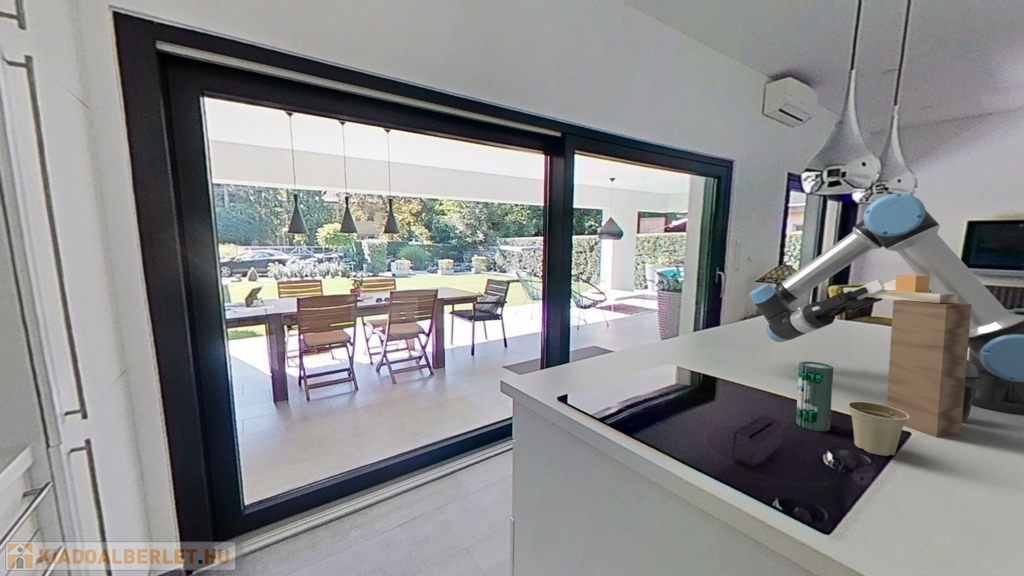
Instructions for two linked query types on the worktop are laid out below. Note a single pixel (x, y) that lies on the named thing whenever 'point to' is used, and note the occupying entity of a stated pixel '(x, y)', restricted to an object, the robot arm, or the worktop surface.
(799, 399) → the can
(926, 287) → the cube
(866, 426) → the flower pot
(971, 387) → the beverage cup
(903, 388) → the stand
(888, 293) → the slat
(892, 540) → the worktop surface
